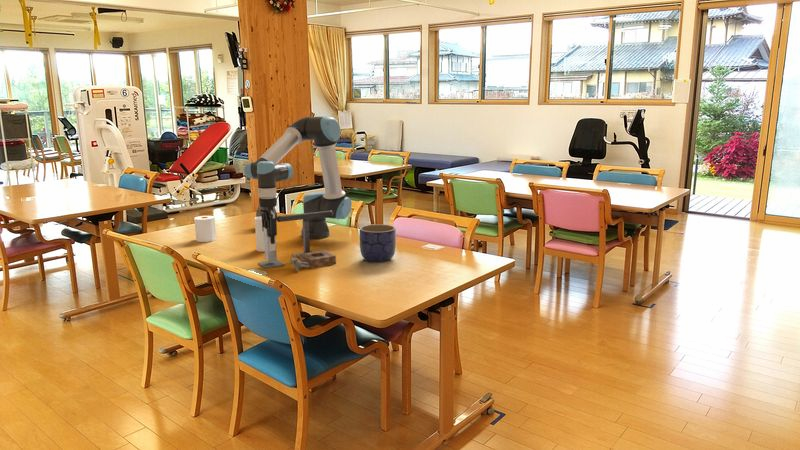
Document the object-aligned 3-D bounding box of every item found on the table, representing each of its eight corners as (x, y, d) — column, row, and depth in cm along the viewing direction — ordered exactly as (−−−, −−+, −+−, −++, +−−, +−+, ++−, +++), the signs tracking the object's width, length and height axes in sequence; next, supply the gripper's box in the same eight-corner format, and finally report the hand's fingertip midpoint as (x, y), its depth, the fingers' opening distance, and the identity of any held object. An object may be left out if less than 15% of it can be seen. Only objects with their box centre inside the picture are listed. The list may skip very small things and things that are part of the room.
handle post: (311, 253, 271) (309, 218, 267) (318, 257, 264) (317, 221, 260) (295, 255, 266) (294, 220, 263) (302, 259, 260) (301, 223, 256)
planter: (368, 266, 249) (368, 233, 246) (354, 257, 263) (353, 226, 260) (402, 261, 256) (402, 229, 253) (386, 253, 271) (385, 222, 267)
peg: (273, 258, 254) (271, 226, 251) (277, 260, 251) (275, 227, 248) (265, 260, 252) (263, 227, 249) (268, 262, 249) (266, 229, 245)
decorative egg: (275, 229, 319) (273, 203, 316) (254, 229, 319) (252, 203, 316) (279, 225, 330) (278, 200, 327) (259, 225, 331) (258, 200, 327)
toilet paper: (191, 241, 294) (189, 218, 291) (205, 236, 303) (203, 214, 301) (207, 243, 290) (205, 220, 288) (220, 238, 300) (218, 216, 297)
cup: (269, 252, 273) (267, 219, 269) (253, 251, 275) (251, 219, 271) (276, 247, 281) (274, 216, 277) (260, 247, 282) (259, 215, 279)
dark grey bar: (275, 223, 256) (275, 215, 255) (331, 217, 270) (331, 209, 269) (277, 224, 253) (277, 216, 253) (334, 218, 267) (334, 210, 266)
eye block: (324, 257, 264) (323, 250, 263) (335, 263, 254) (335, 255, 253) (300, 261, 257) (299, 253, 256) (311, 267, 247) (310, 260, 247)
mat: (277, 260, 258) (277, 259, 258) (284, 265, 251) (284, 264, 250) (258, 264, 253) (257, 262, 253) (265, 268, 246) (265, 267, 246)
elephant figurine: (314, 271, 243) (297, 267, 237) (306, 278, 246) (289, 276, 240) (308, 252, 249) (291, 249, 242) (300, 260, 252) (283, 257, 245)
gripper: (252, 195, 250) (255, 246, 255) (266, 201, 236) (269, 254, 241) (268, 193, 254) (271, 244, 259) (283, 199, 240) (285, 252, 245)
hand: (270, 249), depth 250 cm, fingers closed on peg, 4 cm apart
